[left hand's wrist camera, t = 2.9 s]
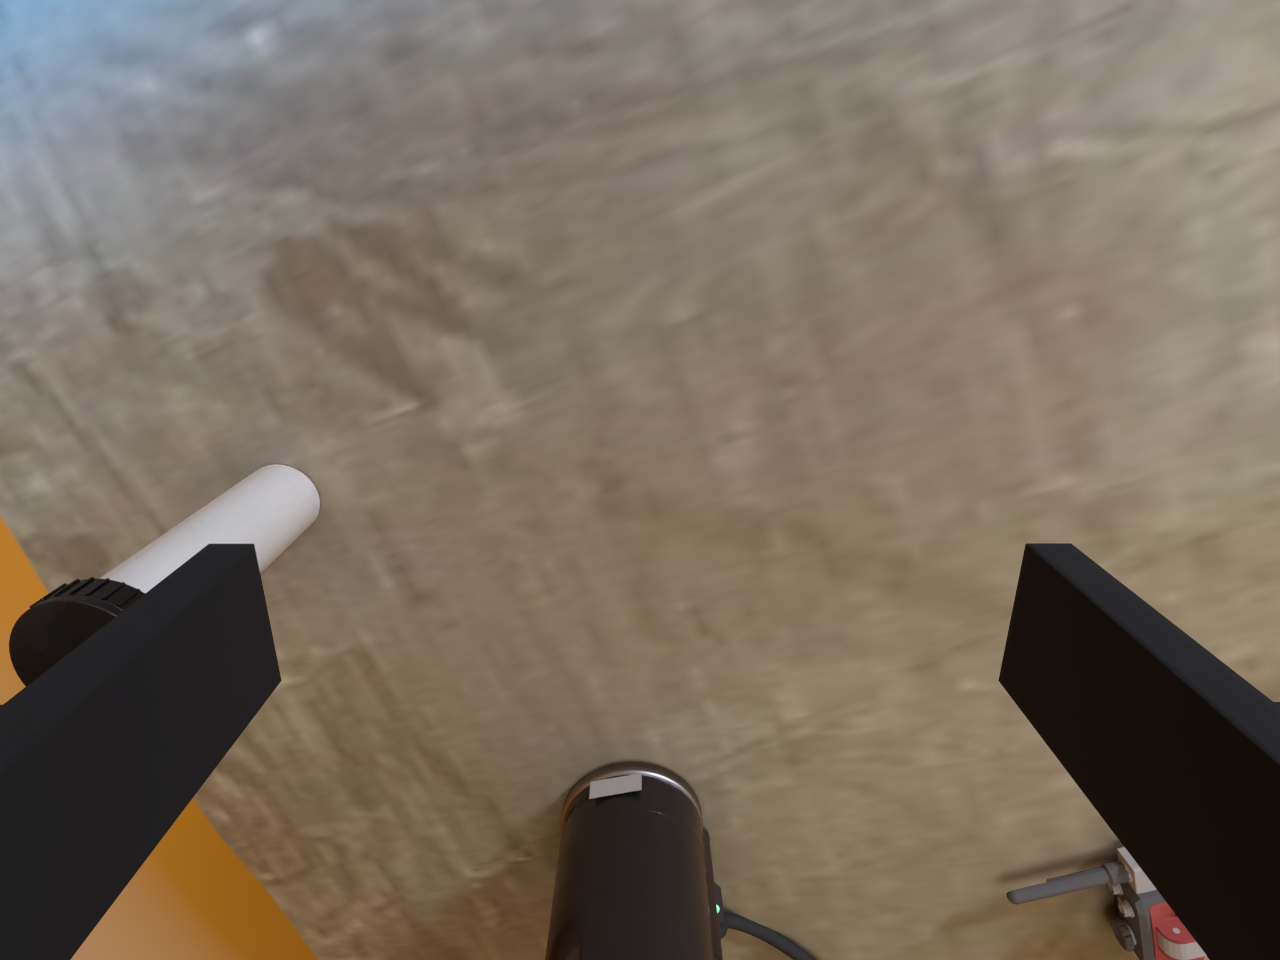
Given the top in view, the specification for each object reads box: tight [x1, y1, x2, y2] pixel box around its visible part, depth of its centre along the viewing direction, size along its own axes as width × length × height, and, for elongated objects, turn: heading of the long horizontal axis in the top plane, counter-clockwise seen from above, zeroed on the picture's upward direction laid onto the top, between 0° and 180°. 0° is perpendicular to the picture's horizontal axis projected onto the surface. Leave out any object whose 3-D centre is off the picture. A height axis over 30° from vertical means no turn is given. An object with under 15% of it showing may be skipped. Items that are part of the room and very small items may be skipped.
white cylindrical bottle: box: [99, 464, 320, 593], centre depth 35 cm, size 4×4×16 cm
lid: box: [9, 577, 145, 687], centre depth 28 cm, size 5×5×2 cm
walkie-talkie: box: [1007, 847, 1207, 960], centre depth 50 cm, size 9×4×20 cm
